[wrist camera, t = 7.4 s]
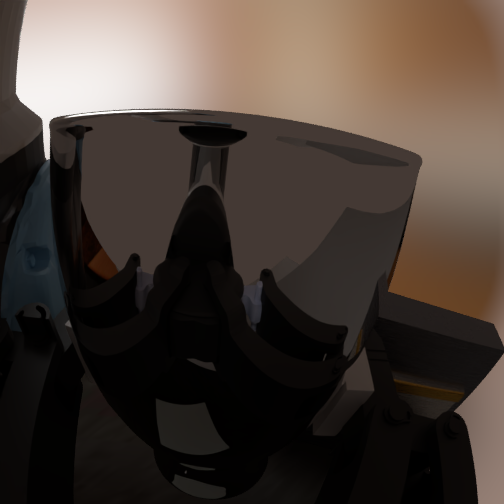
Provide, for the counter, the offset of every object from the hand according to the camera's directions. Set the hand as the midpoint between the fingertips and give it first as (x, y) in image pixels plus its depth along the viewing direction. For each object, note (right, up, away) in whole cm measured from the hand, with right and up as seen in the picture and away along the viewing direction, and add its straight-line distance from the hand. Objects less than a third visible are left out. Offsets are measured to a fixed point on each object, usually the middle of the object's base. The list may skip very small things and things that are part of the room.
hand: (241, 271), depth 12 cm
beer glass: (-2, -10, 0) cm, 10 cm away
